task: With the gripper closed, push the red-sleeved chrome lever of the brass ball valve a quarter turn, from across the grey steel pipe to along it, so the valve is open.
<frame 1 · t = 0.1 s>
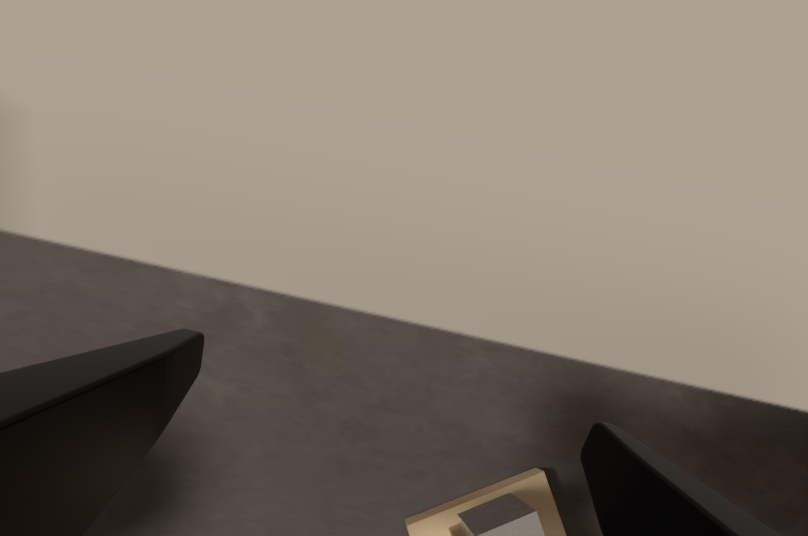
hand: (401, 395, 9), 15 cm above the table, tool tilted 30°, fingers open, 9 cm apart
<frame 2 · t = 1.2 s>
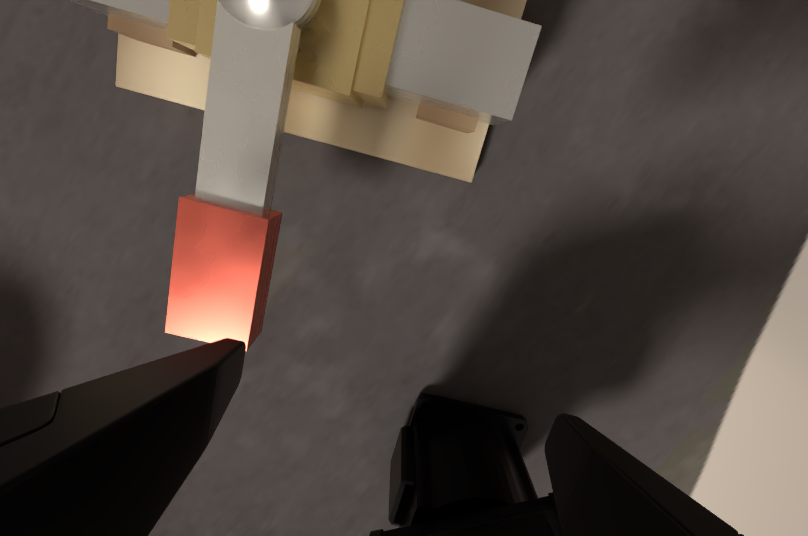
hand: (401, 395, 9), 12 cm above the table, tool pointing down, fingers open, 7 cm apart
valve and pipe: (298, 15, 14), point 4 cm above the table
birch rig board: (321, 44, 18), on the table
ball valve lever: (241, 151, 12), point 7 cm above the table, hinge at 90.0°
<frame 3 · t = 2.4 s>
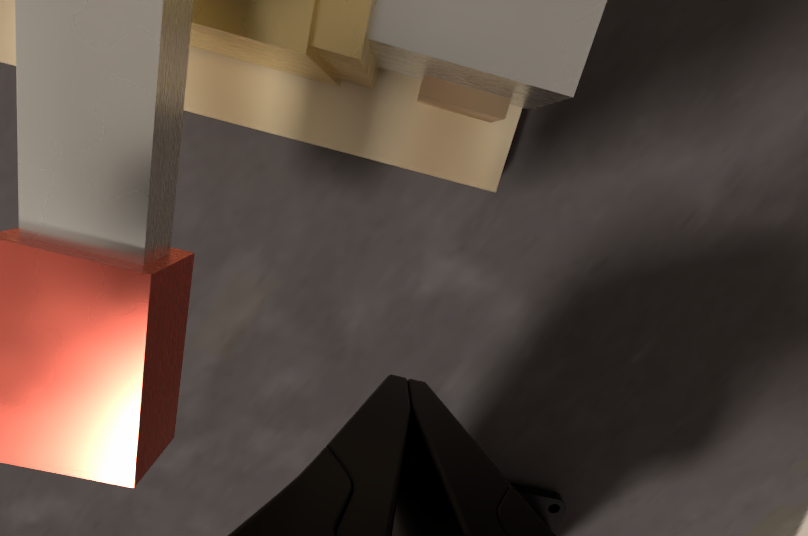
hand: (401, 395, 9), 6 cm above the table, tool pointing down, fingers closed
ball valve lever: (103, 149, 7), point 7 cm above the table, hinge at 90.0°
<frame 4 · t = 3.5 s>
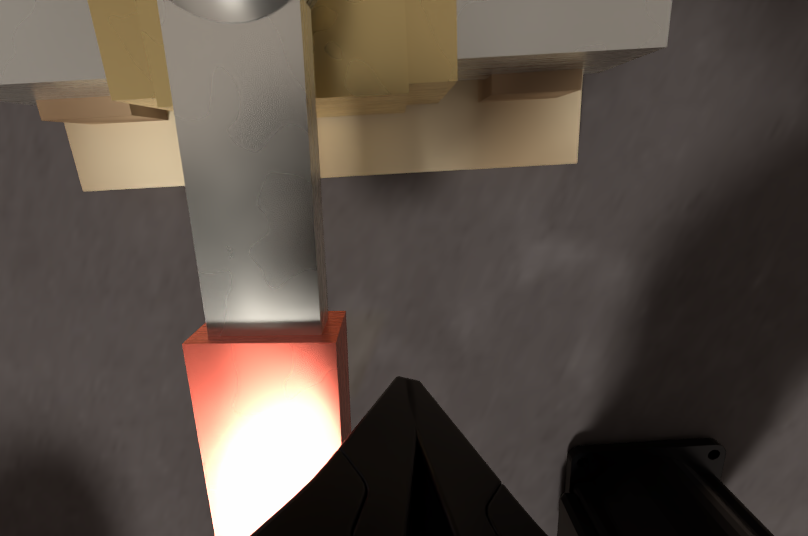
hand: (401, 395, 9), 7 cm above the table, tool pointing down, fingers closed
valve and pipe: (290, 3, 9), point 4 cm above the table
birch rig board: (322, 47, 13), on the table
ball valve lever: (262, 239, 7), point 7 cm above the table, hinge at 86.9°, touching gripper
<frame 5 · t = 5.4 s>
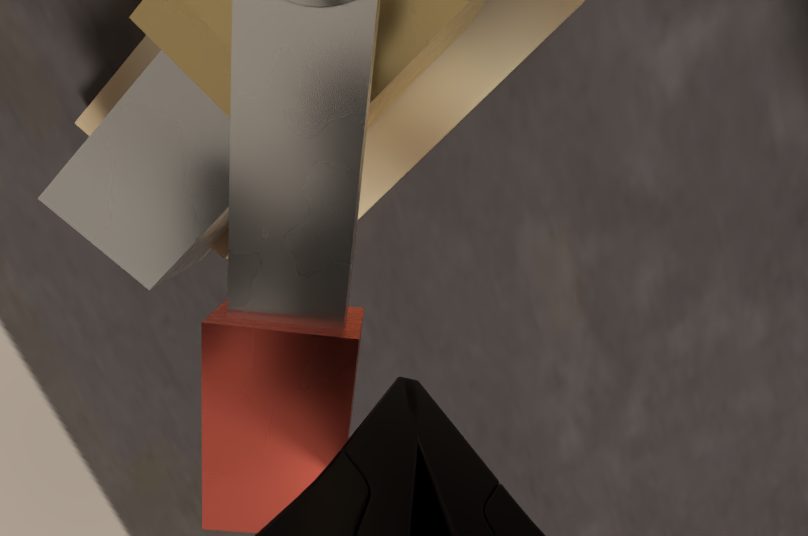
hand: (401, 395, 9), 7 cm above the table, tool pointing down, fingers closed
birch rig board: (357, 40, 13), on the table
ball valve lever: (296, 226, 7), point 7 cm above the table, hinge at 39.0°, touching gripper
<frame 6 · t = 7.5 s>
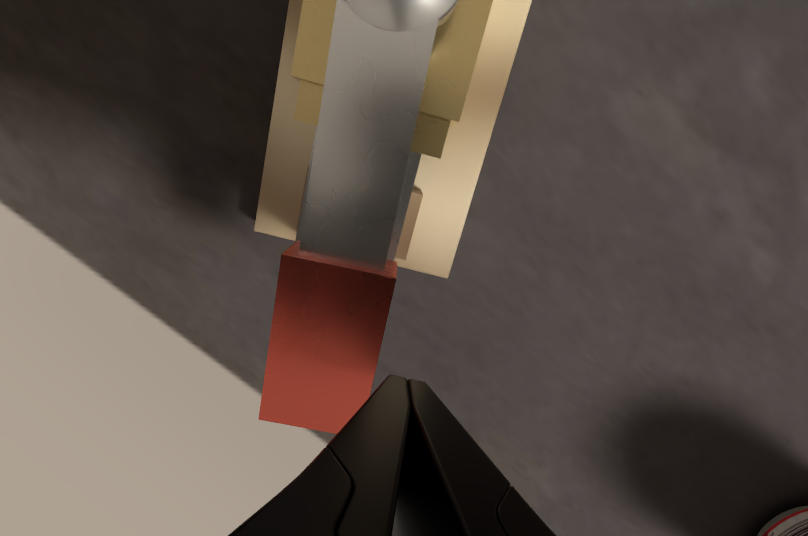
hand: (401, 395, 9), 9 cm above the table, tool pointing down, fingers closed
valve and pipe: (400, 12, 11), point 4 cm above the table
birch rig board: (401, 47, 15), on the table
ball valve lever: (356, 190, 9), point 7 cm above the table, hinge at 1.9°
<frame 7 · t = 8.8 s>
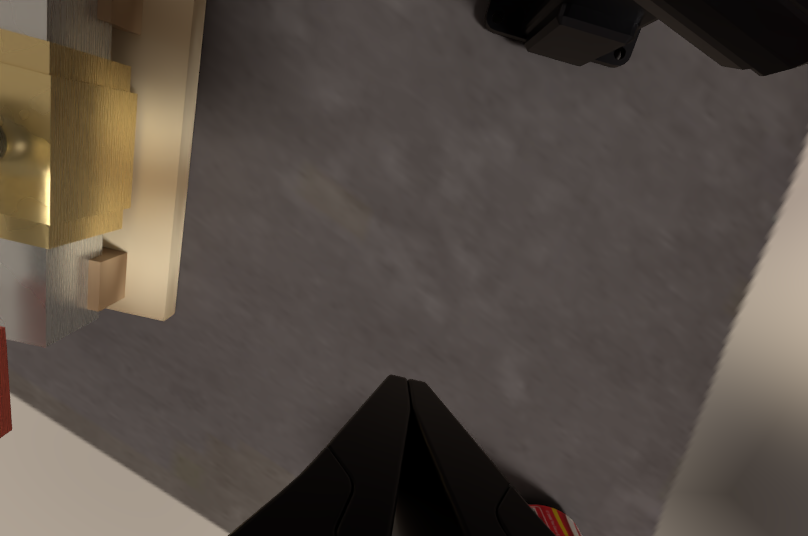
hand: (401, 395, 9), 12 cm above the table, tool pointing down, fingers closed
valve and pipe: (27, 138, 15), point 4 cm above the table
birch rig board: (104, 140, 19), on the table
soda can: (522, 532, 26), on the table
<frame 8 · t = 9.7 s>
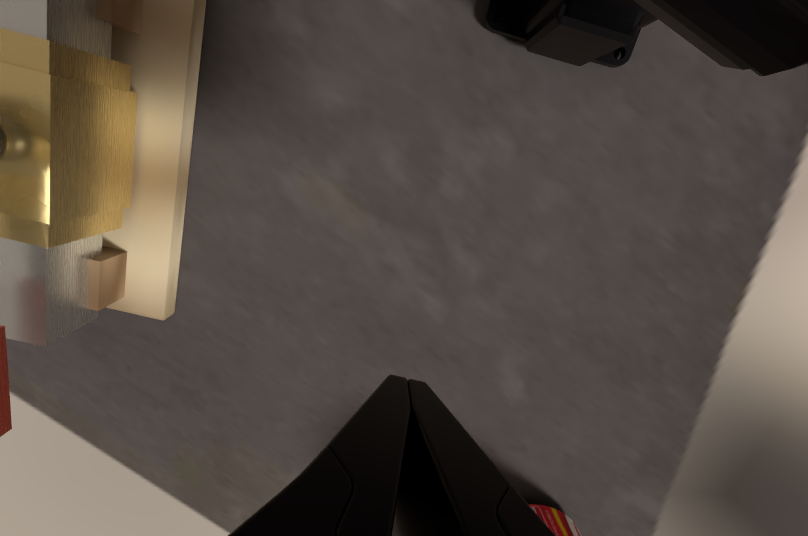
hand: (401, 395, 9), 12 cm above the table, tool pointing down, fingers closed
valve and pipe: (27, 137, 15), point 4 cm above the table
birch rig board: (103, 140, 19), on the table
soda can: (521, 532, 26), on the table
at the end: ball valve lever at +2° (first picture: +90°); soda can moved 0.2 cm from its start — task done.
